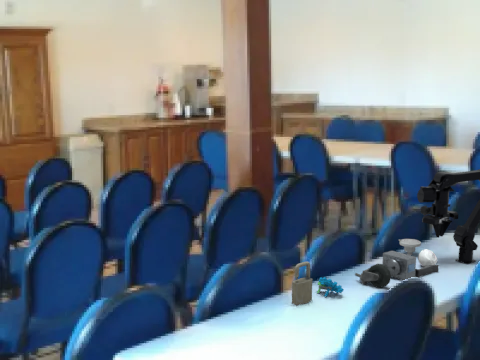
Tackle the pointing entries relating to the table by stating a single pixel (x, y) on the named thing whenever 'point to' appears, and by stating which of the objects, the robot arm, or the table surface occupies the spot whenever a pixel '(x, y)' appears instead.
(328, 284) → the blue toy creature
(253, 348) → the table surface
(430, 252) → the white folded round lump
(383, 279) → the caster wheel
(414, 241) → the showerhead
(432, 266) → the bracket
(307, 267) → the padlock
